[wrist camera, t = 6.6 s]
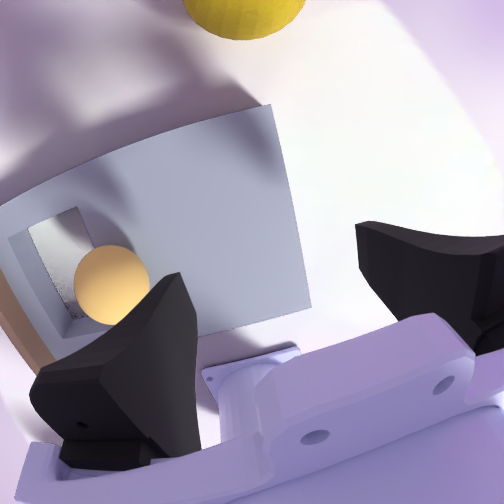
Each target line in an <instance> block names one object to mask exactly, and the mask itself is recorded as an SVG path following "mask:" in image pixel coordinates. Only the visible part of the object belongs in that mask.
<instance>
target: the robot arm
mask: <svg viewBox="0 0 504 504" xmlns="http://www.w3.org/2000/svg"><path fill="white" fill-rule="evenodd" d="M355 228H356V238H357V249H358V261H359V269H360V271H361V272H362V274H363V276H364V278H365V279H366V281H367V282H368V284H369V286H370V287H371V288H372V289H373V291H374V292H375V293H376V294H377V295H378V297H379V298H380V299H381V300H382V301H383V303H384V304H385V305H386V306H387V308H388V309H389V310H390V311H391V312H392V314H393V315H394V316H395V317H396V319H397V320H398V321H399V322H396V323H394V324H391V325H389V326H386V327H383V328H381V329H378V330H375V331H373V332H370V333H367V334H364V335H361V336H359V337H356V338H353V339H350V340H347V341H344V342H341V343H338V344H335V345H332V346H328V347H325V348H322V349H319V350H316V351H312V352H309V353H306V354H301V351H300V348H299V347H291V348H288V349H284V350H280V351H276V352H273V353H269V354H265V355H261V356H257V357H253V358H249V359H245V360H241V361H236V362H232V363H228V364H223V365H219V366H214V367H209V368H205V369H203V370H202V377H203V379H204V381H205V383H206V385H207V386H208V388H209V390H210V392H211V394H212V395H213V397H214V399H215V401H216V402H217V404H218V406H219V418H220V434H221V443H220V444H218V445H215V446H212V447H209V448H206V449H203V450H202V449H201V442H200V435H199V428H198V420H197V410H196V398H195V367H196V353H197V340H198V326H197V313H196V310H195V308H194V306H193V303H192V301H191V298H190V296H189V293H188V291H187V289H186V286H185V284H184V281H183V278H182V276H181V273H180V272H176V273H173V274H169V275H166V276H164V277H163V278H162V279H161V280H160V281H159V282H158V283H157V284H156V285H155V286H154V287H153V288H152V289H151V290H150V291H149V292H148V294H147V295H146V296H145V297H144V298H143V299H142V300H141V301H140V302H139V303H138V304H137V305H136V306H135V307H134V308H133V309H132V310H131V311H130V312H129V313H128V314H127V315H126V316H125V317H124V318H123V319H122V320H120V321H119V322H118V323H117V324H116V325H114V326H113V327H112V328H111V329H110V330H108V331H107V332H106V333H104V334H103V335H101V336H100V337H98V338H97V339H95V340H94V341H93V342H91V343H90V344H88V345H86V346H85V347H83V348H81V349H80V350H78V351H76V352H74V353H72V354H70V355H68V356H66V357H64V358H62V359H60V360H58V361H55V362H53V363H51V364H49V365H46V366H44V367H42V368H41V369H40V371H39V373H38V375H37V377H36V379H35V381H34V383H33V385H32V387H31V389H30V393H29V397H30V402H31V404H32V405H33V407H34V409H35V411H36V412H37V413H38V414H39V416H40V417H41V418H42V419H43V420H44V421H45V422H46V423H47V424H48V425H49V426H50V427H51V428H52V429H53V430H54V431H55V432H56V433H57V434H58V435H59V436H61V437H62V438H63V439H64V442H63V445H62V447H60V446H58V445H56V444H52V443H42V442H31V444H30V447H29V450H28V453H27V456H26V459H25V462H24V465H23V469H22V472H21V475H20V479H19V482H18V486H17V490H16V493H15V497H14V498H15V500H16V501H17V502H19V503H21V504H504V235H499V236H485V237H462V236H448V235H439V234H432V233H427V232H421V231H416V230H412V229H407V228H403V227H399V226H395V225H390V224H386V223H381V222H376V221H366V222H362V223H359V224H355ZM295 356H297V357H295ZM208 377H212V378H208Z"/></svg>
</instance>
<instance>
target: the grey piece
mask: <svg viewBox="0 0 504 504" xmlns="http://www.w3.org/2000/svg"><path fill="white" fill-rule="evenodd" d="M76 206H77V207H78V209H79V212H80V214H81V217H82V219H83V222H84V224H85V227H86V229H87V232H88V234H89V237H90V239H91V241H92V244H93V246H94V248H98V247H101V246H105V245H116V246H121V247H124V248H126V249H128V250H130V251H132V252H133V253H134V254H135V255H137V256H138V257H139V258H140V260H141V261H142V262H143V264H144V266H145V268H146V270H147V273H148V276H149V282H150V289H149V291H150V290H151V289H152V288H153V287H154V286H155V285H156V284H157V283H158V282H159V281H160V280H161V279H162V278H163V277H164V276H166V275H169V274H173V273H176V272H180V273H181V276H182V278H183V281H184V284H185V286H186V289H187V291H188V293H189V296H190V298H191V301H192V303H193V306H194V308H195V310H196V313H197V326H198V337H200V336H205V335H209V334H213V333H217V332H222V331H226V330H230V329H234V328H238V327H242V326H246V325H250V324H254V323H258V322H261V321H265V320H269V319H273V318H276V317H280V316H284V315H287V314H291V313H294V312H298V311H301V310H305V309H308V308H312V307H311V301H310V295H309V289H308V283H307V277H306V271H305V265H304V260H303V254H302V249H301V243H300V238H299V233H298V227H297V222H296V217H295V212H294V207H293V202H292V197H291V192H290V187H289V183H288V178H287V173H286V169H285V164H284V160H283V155H282V151H281V146H280V142H279V137H278V133H277V129H276V124H275V120H274V116H273V112H272V108H271V104H269V105H264V106H259V107H255V108H250V109H246V110H242V111H238V112H234V113H229V114H226V115H222V116H218V117H214V118H210V119H207V120H203V121H200V122H196V123H193V124H189V125H186V126H183V127H180V128H176V129H173V130H170V131H167V132H164V133H161V134H158V135H155V136H152V137H149V138H146V139H144V140H141V141H138V142H135V143H133V144H130V145H127V146H125V147H122V148H119V149H117V150H114V151H112V152H109V153H107V154H104V155H102V156H99V157H97V158H95V159H92V160H90V161H88V162H85V163H83V164H81V165H79V166H76V167H74V168H72V169H70V170H68V171H66V172H63V173H61V174H59V175H57V176H55V177H53V178H51V179H49V180H47V181H45V182H43V183H41V184H39V185H37V186H35V187H33V188H31V189H30V190H28V191H26V192H24V193H22V194H20V195H19V196H17V197H15V198H13V199H11V200H10V201H8V202H6V203H5V204H3V205H1V206H0V326H1V327H2V329H3V330H4V332H5V333H6V335H7V336H8V338H9V339H10V341H11V342H12V344H13V345H14V346H15V348H16V349H17V351H18V352H19V354H20V355H21V356H22V358H23V359H24V360H25V362H26V363H27V364H28V366H29V367H30V368H31V369H32V371H33V372H34V373H35V375H36V376H37V375H38V373H39V371H40V369H41V368H42V367H44V366H46V365H49V364H51V363H53V362H55V361H58V360H60V359H62V358H64V357H66V356H68V355H70V354H72V353H74V352H76V351H78V350H80V349H81V348H83V347H85V346H86V345H88V344H90V343H91V342H93V341H94V340H95V339H97V338H98V337H100V336H101V335H103V334H104V333H106V332H107V331H108V330H110V329H111V328H112V327H113V326H114V325H108V324H103V323H100V322H98V321H96V320H94V319H92V318H91V317H89V316H86V317H82V318H77V319H73V318H72V316H71V315H70V313H69V311H68V310H67V308H66V306H65V304H64V303H63V301H62V299H61V297H60V295H59V294H58V292H57V290H56V288H55V286H54V284H53V282H52V280H51V278H50V277H49V275H48V273H47V271H46V269H45V267H44V265H43V262H42V260H41V258H40V256H39V254H38V252H37V250H36V247H35V245H34V243H33V241H32V238H31V236H30V234H29V231H28V229H27V228H28V227H30V226H33V225H35V224H37V223H39V222H41V221H44V220H46V219H48V218H50V217H53V216H55V215H57V214H59V213H62V212H64V211H67V210H69V209H71V208H74V207H76Z"/></svg>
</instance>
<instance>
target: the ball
mask: <svg viewBox="0 0 504 504" xmlns="http://www.w3.org/2000/svg"><path fill="white" fill-rule="evenodd" d="M149 289H150V282H149V276H148V273H147V270H146V268H145V266H144V264H143V262H142V261H141V260H140V258H139V257H138V256H137V255H135V254H134V253H133V252H132V251H130V250H128V249H126V248H124V247H121V246H116V245H105V246H101V247H98V248H95V249H94V250H92V251H90V252H89V253H88V254H87V255H85V256H84V258H83V259H82V260H81V262H80V263H79V265H78V267H77V270H76V273H75V277H74V291H75V295H76V298H77V301H78V303H79V305H80V306H81V308H82V309H83V311H84V312H85V313H86V314H87V315H88V316H89V317H91V318H92V319H94V320H96V321H98V322H100V323H103V324H108V325H116V324H117V323H118V322H119V321H120V320H122V319H123V318H124V317H125V316H126V315H127V314H128V313H129V312H130V311H131V310H132V309H133V308H134V307H135V306H136V305H137V304H138V303H139V302H140V301H141V300H142V299H143V298H144V297H145V296H146V295H147V294H148V292H149Z"/></svg>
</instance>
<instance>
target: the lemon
mask: <svg viewBox="0 0 504 504" xmlns="http://www.w3.org/2000/svg"><path fill="white" fill-rule="evenodd" d="M305 1H306V0H183V3H184V5H185V8H186V10H187V12H188V14H189V15H190V16H191V17H192V18H193V20H194V21H195V22H196V23H197V24H198V25H199V26H201V27H202V28H204V29H205V30H206V31H208V32H210V33H212V34H214V35H217V36H219V37H222V38H227V39H232V40H252V39H257V38H263V37H266V36H268V35H270V34H272V33H275V32H277V31H279V30H281V29H282V28H283V27H285V26H286V25H287V24H289V23H290V22H291V21H292V20H293V19H294V18H295V17H296V15H297V14H298V13H299V12H300V10H301V9H302V8H303V6H304V4H305Z"/></svg>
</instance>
